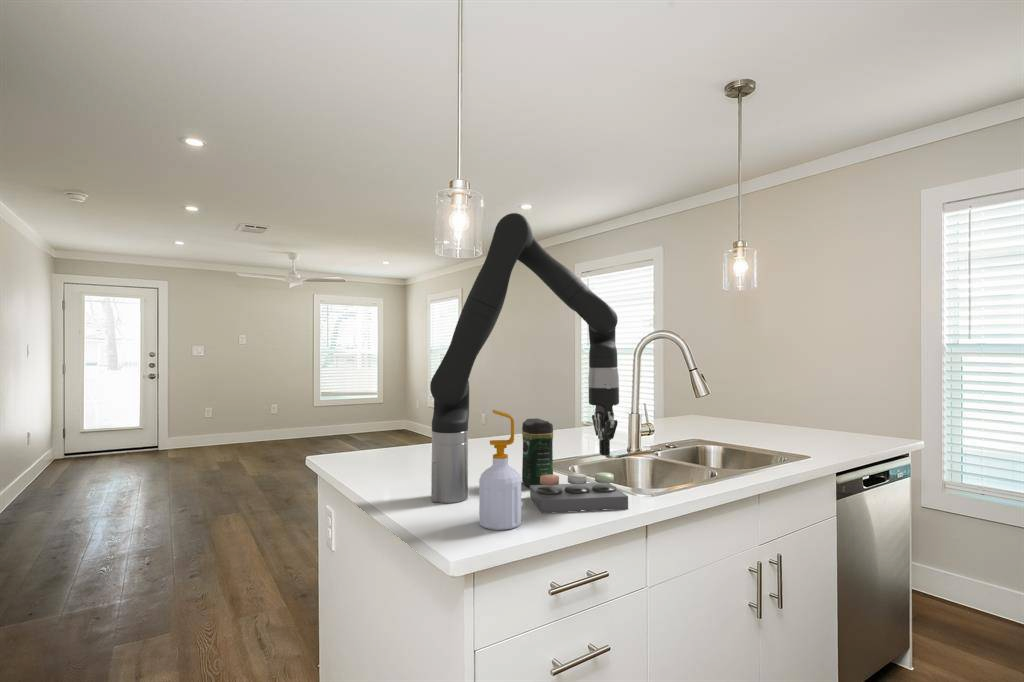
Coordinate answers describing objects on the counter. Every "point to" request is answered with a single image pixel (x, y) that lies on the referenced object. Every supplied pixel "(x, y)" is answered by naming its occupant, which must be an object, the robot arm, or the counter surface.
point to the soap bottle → (500, 489)
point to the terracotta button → (549, 480)
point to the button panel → (577, 497)
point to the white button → (577, 478)
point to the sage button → (604, 477)
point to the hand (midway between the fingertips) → (604, 454)
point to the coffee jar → (537, 450)
